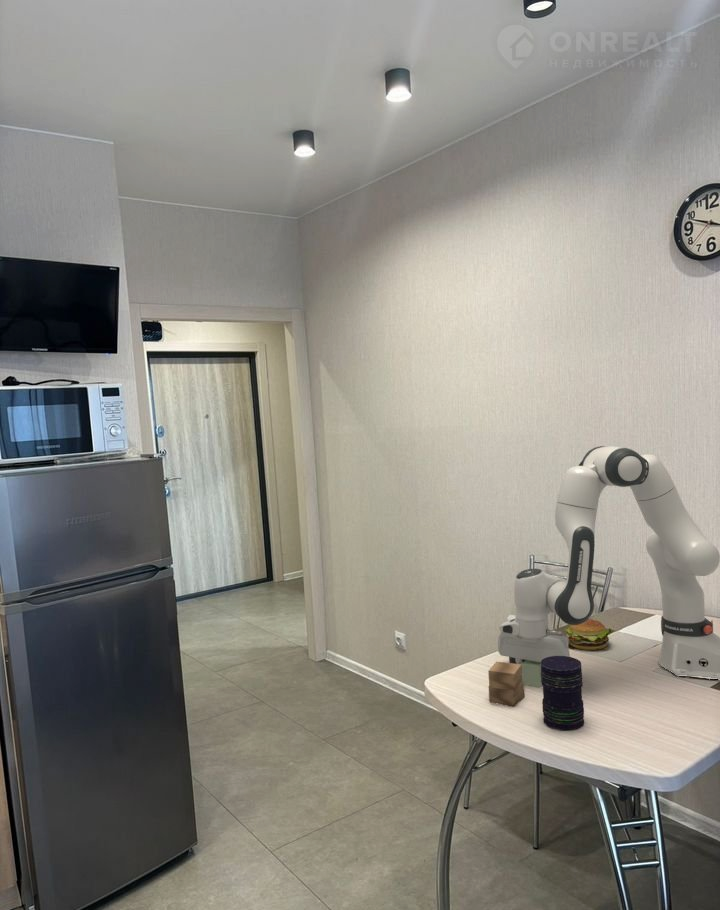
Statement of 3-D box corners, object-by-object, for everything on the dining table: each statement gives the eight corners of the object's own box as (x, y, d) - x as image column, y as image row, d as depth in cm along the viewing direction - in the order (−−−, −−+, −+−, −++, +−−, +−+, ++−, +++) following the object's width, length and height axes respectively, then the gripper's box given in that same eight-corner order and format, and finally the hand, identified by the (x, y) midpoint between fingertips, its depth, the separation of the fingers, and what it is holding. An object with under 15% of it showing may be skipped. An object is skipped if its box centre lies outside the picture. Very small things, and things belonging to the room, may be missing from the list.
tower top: (522, 680, 188) (521, 664, 188) (515, 690, 182) (514, 673, 182) (497, 677, 191) (496, 661, 191) (489, 687, 185) (488, 670, 185)
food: (557, 647, 223) (556, 623, 223) (577, 635, 234) (576, 612, 233) (599, 655, 214) (598, 630, 213) (617, 642, 224) (616, 618, 224)
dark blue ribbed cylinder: (560, 734, 166) (557, 673, 165) (534, 718, 175) (531, 660, 174) (593, 724, 170) (590, 664, 169) (566, 709, 179) (563, 652, 178)
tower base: (524, 697, 188) (523, 681, 187) (513, 707, 182) (513, 691, 182) (500, 693, 192) (499, 677, 192) (489, 702, 186) (488, 686, 186)
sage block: (546, 681, 197) (545, 660, 197) (539, 687, 193) (538, 666, 193) (529, 678, 200) (528, 657, 200) (522, 684, 196) (521, 663, 196)
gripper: (572, 629, 192) (574, 677, 193) (503, 619, 204) (506, 665, 205) (563, 635, 187) (566, 686, 188) (494, 625, 199) (496, 672, 200)
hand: (534, 675), depth 197 cm, fingers closed on sage block, 5 cm apart
